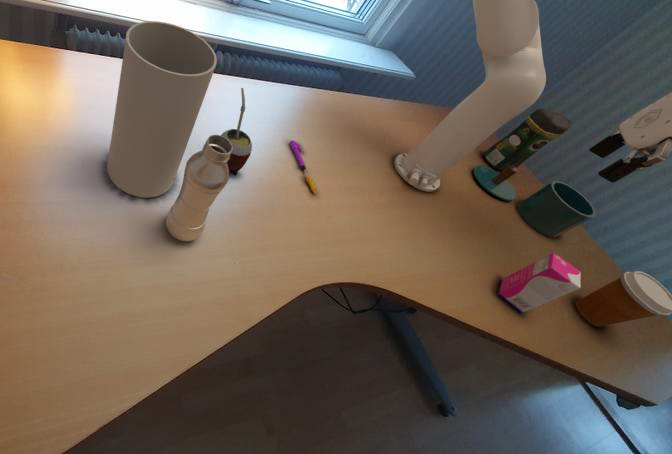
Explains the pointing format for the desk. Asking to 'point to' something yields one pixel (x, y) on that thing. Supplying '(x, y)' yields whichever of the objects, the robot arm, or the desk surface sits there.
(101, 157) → the desk surface
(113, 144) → the cylinder vase
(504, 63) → the robot arm
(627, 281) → the disposable coffee cup
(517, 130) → the coffee jar
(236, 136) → the mate gourd
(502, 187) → the pot lid
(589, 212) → the pot
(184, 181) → the plastic bottle
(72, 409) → the desk surface
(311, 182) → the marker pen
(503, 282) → the supplement box
